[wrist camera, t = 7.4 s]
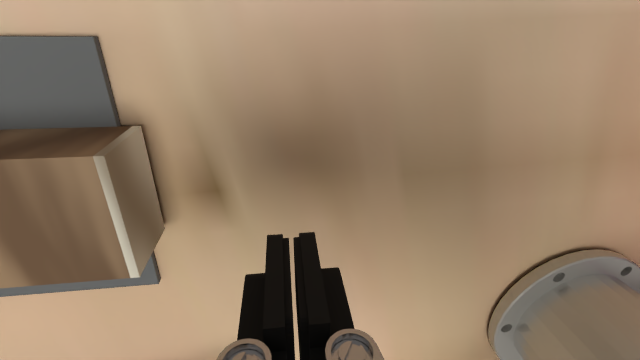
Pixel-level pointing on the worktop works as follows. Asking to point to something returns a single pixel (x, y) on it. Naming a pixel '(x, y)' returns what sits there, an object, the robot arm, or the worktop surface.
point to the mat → (59, 110)
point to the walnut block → (75, 205)
